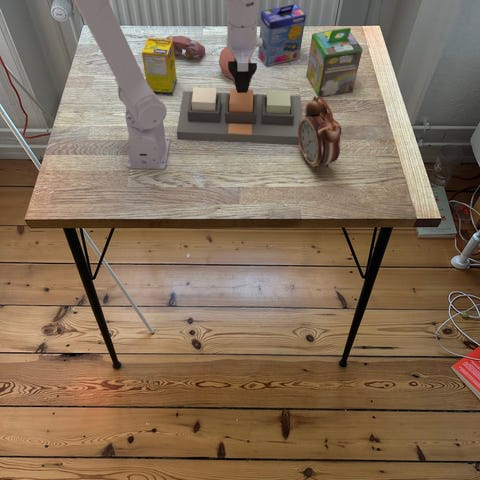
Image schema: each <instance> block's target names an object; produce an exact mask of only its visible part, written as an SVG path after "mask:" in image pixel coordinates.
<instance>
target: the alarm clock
mask: <svg viewBox="0 0 480 480" xmlns="http://www.w3.org/2000/svg"><path fill="white" fill-rule="evenodd" d="M341 135H342V126H341V124H340V123H339V122H338V121H336V120H335V118H334V115H333V112H332V110H331V107H330V106H329V104H328V102H327V101H326V100H325V98H323V96H320V97H319V96H316V95H314V96H313V97H312V99H311V100H310V101H307V103H306V104H305V106H304V115H302V117H301V119H300V122H299V127H298V139H299V144H298V145H299V148H300V152H301V153H302V155H303V158H305V161H306V162H307V163H308V164H309V165H310V166H312V168H313V173H317V167H320V166H325V167H326V168H329V164H331V163H334V162H336V161H337V160H338V158H339V156H340V152H341Z"/></svg>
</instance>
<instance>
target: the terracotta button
mask: <svg viewBox="0 0 480 480" xmlns="http://www.w3.org/2000/svg"><path fill="white" fill-rule="evenodd" d="M229 93H230V101H229V112H244V113H252V111H253V94H254V89H248V92H247V93H237V90H236V88H230V89H229Z"/></svg>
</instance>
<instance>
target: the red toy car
mask: <svg viewBox="0 0 480 480" xmlns="http://www.w3.org/2000/svg"><path fill="white" fill-rule="evenodd" d="M165 39H170V40H173V47H174V56H175V55H176V56H182V54H183V52H184V56H185V57H187V58H189V59H193V58H194V57H198V56H199V57H202V56H204V55H205V54H206V48H205V46H204V45H203V44H201V42H199V41H197V40H195V39H190V38H188V37H187V36H185V35H176V36H175V35H174V36H173V35H171V34H170V35H169V36H167V37H166V38H165ZM183 50H184V51H183Z"/></svg>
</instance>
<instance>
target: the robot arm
mask: <svg viewBox="0 0 480 480" xmlns="http://www.w3.org/2000/svg"><path fill="white" fill-rule="evenodd" d="M73 2H74V3H75V5H76V7H77V9H78V11H79V13H80V14H81V17H82V18H83V20H84V22H85V24H86V26H87V29H89V31H90V34H91V35H92V38H93V39H94V41H95V43H96V44H97V47H98V48H99V50H100V53H101V54H102V56H103V57H104V59H105V61H106V63H107V64H108V66H109V69H110V71H111V72H112V75H113V76H114V78H115V79H114V82H115V83H116V85H117V96H118V98H119V100H120V101H121V102H122V103H123V104H124V106H125V108H126V109H125V114H124V115H125V116H124V117H125V120H126V122H125V123H126V126H127V132H128V138H127V143H126V147H127V151H128V153H127V154H128V156H127V161H126V164H125V165H126V168H129V169H130V168H131V169H132V168H133V169H151V170H153V169H154V170H155V169H156V170H164V169H166V167H167V166H166V165H167V161H168V154H169V148H170V142H171V137H170V136H166V134H165V126H164V120H165V119H166V116H167V112H168V111H167V107H166V105H165V103H164V102H162V101H161V100H160V98H159V97H158V95H157V94H155V93H154V92H153V91H152V89H151V88H150V86H149V85H148V83H147V81H146V77H145V75H144V74H143V72H142V70H141V68H140V66H139V64H138V62H137V59H136V57H135V55H134V53H133V51H132V49H131V47H130V44H129V43H128V40H127V38H126V35H125V34H124V32H123V30H122V28H121V26H120V23H119V21H118V20H117V19H118V18H117V17H116V15H115V12H114V11H113V9H112V6H111V5H110V0H73ZM258 7H259V0H226V19H227V20H226V28H227V31H226V32H227V33H226V34H227V36H226V37H227V38H226V46H227V47H228V49H229V50H230V52H231V53H232V55H233V56H234V60H235V61H228V69H229V72H230V73H231V74H232V76H233V78H232V79H233V81H234V85H235V89H236V90H237V93H247V92H248V90H250V89H249V87H250V84H251V81H252V78H253V76H254V74H256V72H257V70H258V63H257V62H251V63H248V62H249V60H251V58H252V56H253V54H254V53H255V51H256V49H257V47H258V48H259V46H262V44H263V41H262V38H260V37H258V11H259V8H258Z"/></svg>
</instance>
